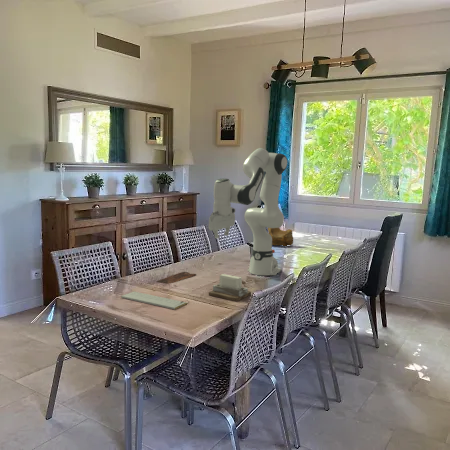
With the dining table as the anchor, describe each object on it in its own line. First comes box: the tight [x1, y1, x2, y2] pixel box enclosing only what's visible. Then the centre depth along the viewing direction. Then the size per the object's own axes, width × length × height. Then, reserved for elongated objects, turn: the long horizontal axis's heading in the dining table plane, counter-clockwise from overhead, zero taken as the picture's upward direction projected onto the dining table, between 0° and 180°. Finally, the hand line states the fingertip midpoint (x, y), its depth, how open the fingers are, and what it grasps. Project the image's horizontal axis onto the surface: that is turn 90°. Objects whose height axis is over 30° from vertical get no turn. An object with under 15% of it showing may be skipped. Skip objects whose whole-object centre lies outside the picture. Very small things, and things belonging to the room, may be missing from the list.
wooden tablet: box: [156, 271, 197, 285], centre depth 250 cm, size 26×2×10 cm
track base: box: [208, 282, 252, 302], centre depth 221 cm, size 14×16×4 cm
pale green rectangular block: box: [218, 273, 243, 291], centre depth 220 cm, size 3×11×8 cm, turn 57°
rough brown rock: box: [267, 227, 294, 246], centre depth 357 cm, size 23×17×15 cm
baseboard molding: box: [120, 291, 190, 310], centre depth 209 cm, size 31×3×12 cm
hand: (221, 236), depth 230 cm, fingers open, 8 cm apart
